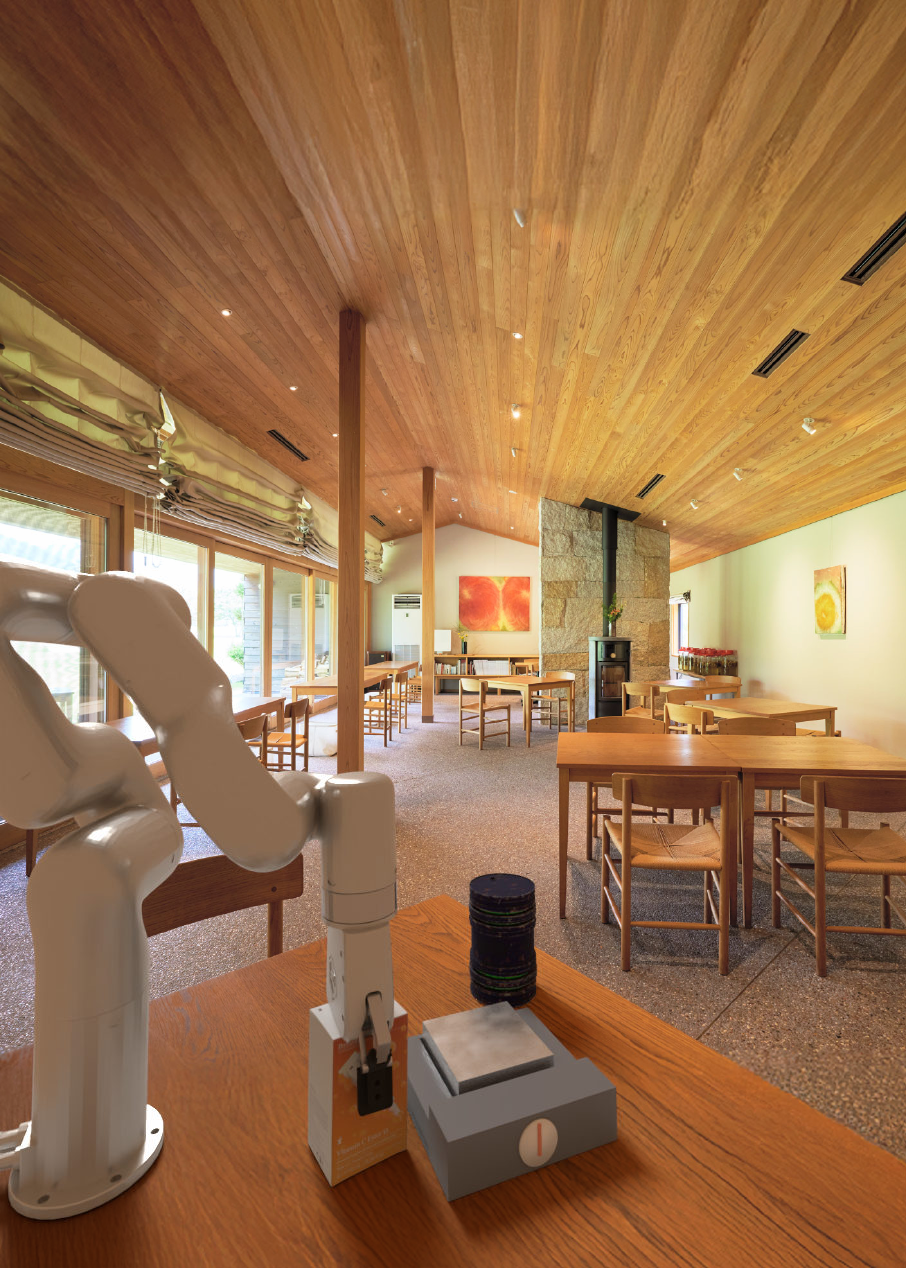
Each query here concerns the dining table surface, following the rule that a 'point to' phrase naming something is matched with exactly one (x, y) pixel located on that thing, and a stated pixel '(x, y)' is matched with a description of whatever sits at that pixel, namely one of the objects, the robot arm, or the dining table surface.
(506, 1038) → the pan
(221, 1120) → the dining table surface
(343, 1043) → the small box
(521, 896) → the navy cylindrical canister
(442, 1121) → the scale
